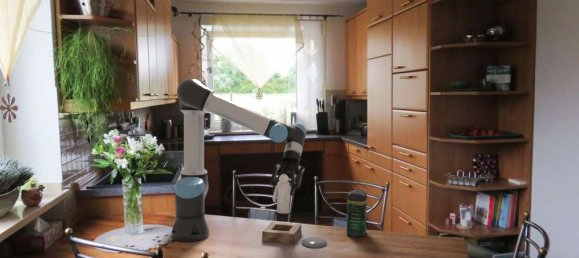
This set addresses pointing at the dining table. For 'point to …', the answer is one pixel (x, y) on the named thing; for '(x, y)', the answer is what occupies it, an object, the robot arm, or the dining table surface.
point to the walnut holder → (281, 232)
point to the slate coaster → (314, 242)
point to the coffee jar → (356, 213)
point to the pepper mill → (282, 194)
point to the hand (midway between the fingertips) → (280, 201)
